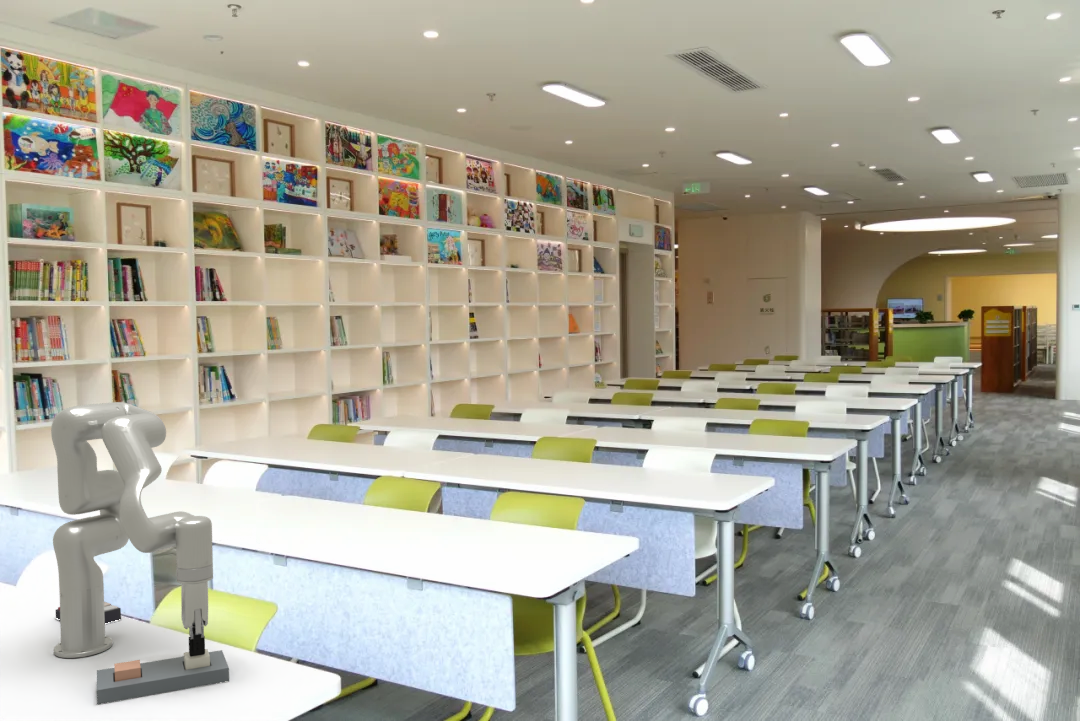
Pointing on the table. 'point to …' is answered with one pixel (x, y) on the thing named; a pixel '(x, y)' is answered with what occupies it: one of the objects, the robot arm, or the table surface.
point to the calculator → (109, 612)
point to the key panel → (161, 678)
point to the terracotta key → (127, 670)
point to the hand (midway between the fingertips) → (197, 654)
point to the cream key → (196, 660)
